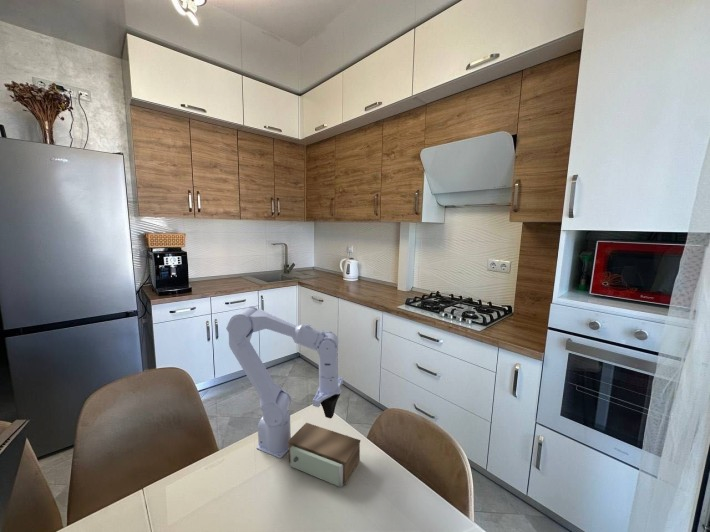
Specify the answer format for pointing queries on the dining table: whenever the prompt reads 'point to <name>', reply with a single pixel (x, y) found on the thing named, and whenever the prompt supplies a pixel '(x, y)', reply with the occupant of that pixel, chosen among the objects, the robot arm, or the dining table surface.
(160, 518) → the dining table surface
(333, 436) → the cabinet
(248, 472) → the dining table surface
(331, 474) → the door
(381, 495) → the dining table surface
